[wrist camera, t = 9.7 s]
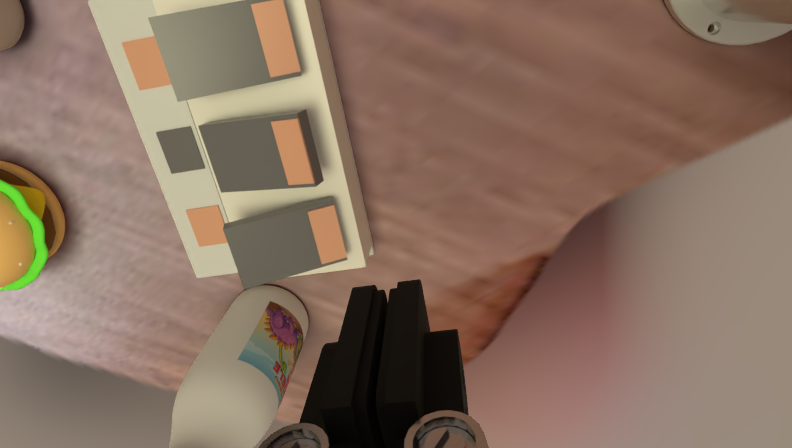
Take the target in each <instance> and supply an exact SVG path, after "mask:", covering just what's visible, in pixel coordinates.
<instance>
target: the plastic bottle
mask: <svg viewBox="0 0 792 448" xmlns="http://www.w3.org/2000/svg"><path fill="white" fill-rule="evenodd" d="M24 24H25V16H24V11H23V8H22V5H21V2H20V0H0V51H3V50H6V49H9V48H11V47H12V46H14V45H15V44H16V43H17V42H18V40H19V39H20V37H21V35H22V32H23V30H24Z"/></svg>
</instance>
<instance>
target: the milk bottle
mask: <svg viewBox="0 0 792 448" xmlns="http://www.w3.org/2000/svg"><path fill="white" fill-rule="evenodd" d="M308 325H309V322H308V316H307V312H306V310H305V308H304V306H303V304H302V303H301V302H300V300H299V299H298V298H297V297H296V296H295V295H293V294H292V293H290V292H289V291H287V290H284V289H282V288H280V287H276V286H270V285H261V286H256V287H252V288H249V289H247V290H245V291H243V292H242V293H241V294H240V295H238V297H237V298H236V299H235V300H234V302H233V303H232V305H231V306H230V307H229V309H228V310H227V312H226V313H225V315H224V316H223V318H222V320H221V321H220V323H219V324H218V326H217V327H216V329H215V330H214V332H213V333H212V335H211V336H210V338H209V339H208V341H207V342H206V344H205V346H204V347H203V349H202V350H201V352H200V353H199V355H198V356H197V358H196V360H195V361H194V363H193V364H192V366H191V368H190V369H189V371H188V373H187V374H186V376H185V378H184V380H183V382H182V384H181V386H180V388H179V390H178V393H177V396H176V399H175V403H174V408H173V415H172V432H171V439H170V444H169V448H253V447H254V446H255V445H256V444H257V443H258V442H259V441H260V439H261V438H262V437H263V436H264V434H265V433H266V432H267V430H268V429H269V427H270V425H271V423H272V421H273V419H274V417H275V415H276V413H277V410H278V408H279V406H280V403H281V401H282V399H283V396H284V393H285V391H286V388H287V386H288V383H289V380H290V378H291V375H292V372H293V370H294V367H295V364H296V362H297V359H298V356H299V354H300V351H301V348H302V346H303V343H304V340H305V337H306V334H307V331H308Z"/></svg>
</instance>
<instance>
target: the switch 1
mask: <svg viewBox="0 0 792 448" xmlns="http://www.w3.org/2000/svg"><path fill="white" fill-rule="evenodd" d="M148 19H149V22H150V25H151V28H152V30H153V33H154V36H155V39H156V42H157V45H158V47H159V50H160V53H161V56H162V59H163V62H164V64H165V67H166V70H167V73H168V76H169V78H170V81H171V84H172V87H173V90H174V93H175V95H176V98H177V101H178V102H180V101H185V100H190V99H194V98H199V97H204V96H209V95H213V94H218V93H223V92H227V91H232V90H237V89H242V88H246V87H251V86H256V85H260V84H265V83H270V82H275V81H279V80H284V79H289V78H294V77H298V76H302V74H301V69H300V65H299V61H298V57H297V53H296V49H295V45H294V41H293V37H292V33H291V29H290V25H289V21H288V17H287V13H286V9H285V5H284V1H283V0H242V1H237V2H231V3H226V4H220V5H215V6H209V7H204V8H198V9H193V10H187V11H182V12H176V13H171V14H165V15H160V16H154V17H149V18H148Z"/></svg>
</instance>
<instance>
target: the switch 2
mask: <svg viewBox="0 0 792 448" xmlns="http://www.w3.org/2000/svg"><path fill="white" fill-rule="evenodd" d="M223 231H224V234H225V236H226V239H227V242H228V245H229V248H230V251H231V253H232V256H233V259H234V262H235V265H236V268H237V270H238V273H239V276H240V279H241V282H242V284H243V287H244V290H245V289H248V288H252V287H255V286H258V285H262V284H265V283H269V282H272V281H276V280H279V279H283V278H286V277H290V276H293V275H297V274H300V273H304V272H307V271H311V270H314V269H318V268H321V267H324V266H328V265H331V264H335V263H338V262H342V261H345V260H348V259H347V255H346V251H345V247H344V243H343V239H342V235H341V231H340V226H339V222H338V218H337V214H336V210H335V206H334V203H333V200H332V198H331V196H328V197H324V198H321V199H317V200H313V201H309V202H305V203H302V204H298V205H294V206H290V207H286V208H282V209H279V210H275V211H271V212H267V213H263V214H259V215H256V216H252V217H248V218H244V219H240V220H237V221H233V222H229V223H225V224H224V227H223Z"/></svg>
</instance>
